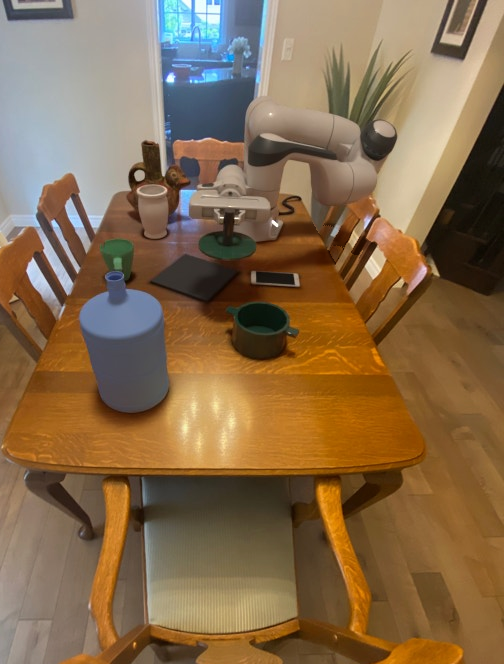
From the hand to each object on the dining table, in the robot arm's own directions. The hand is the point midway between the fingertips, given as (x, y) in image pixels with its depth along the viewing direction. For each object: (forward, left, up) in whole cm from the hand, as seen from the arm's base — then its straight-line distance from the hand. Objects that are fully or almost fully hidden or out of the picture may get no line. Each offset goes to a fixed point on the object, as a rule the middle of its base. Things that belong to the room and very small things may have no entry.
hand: (228, 222), depth 86 cm
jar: (-28, -43, -24) cm, 57 cm away
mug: (+4, -33, -24) cm, 41 cm away
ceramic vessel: (-40, -50, -24) cm, 69 cm away
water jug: (+38, -2, -24) cm, 45 cm away
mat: (-10, -15, -24) cm, 30 cm away
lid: (-1, 0, -6) cm, 6 cm away
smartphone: (-22, +7, -24) cm, 33 cm away
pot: (+8, +15, -24) cm, 29 cm away
